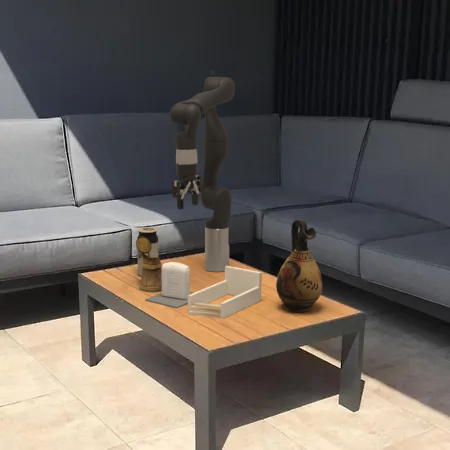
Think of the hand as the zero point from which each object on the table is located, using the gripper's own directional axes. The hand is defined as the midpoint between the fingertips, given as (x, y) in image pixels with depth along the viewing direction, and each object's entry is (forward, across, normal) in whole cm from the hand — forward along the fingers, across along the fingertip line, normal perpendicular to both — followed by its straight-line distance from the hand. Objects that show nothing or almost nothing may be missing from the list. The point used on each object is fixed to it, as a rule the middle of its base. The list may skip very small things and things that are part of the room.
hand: (188, 206), depth 255 cm
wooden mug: (+30, +8, -13) cm, 34 cm away
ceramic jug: (+31, -4, +42) cm, 53 cm away
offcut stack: (+30, +20, +21) cm, 42 cm away
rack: (+30, +8, +21) cm, 38 cm away
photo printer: (+30, +13, +3) cm, 32 cm away
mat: (+30, +13, +3) cm, 33 cm away
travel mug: (+31, -4, -24) cm, 39 cm away
